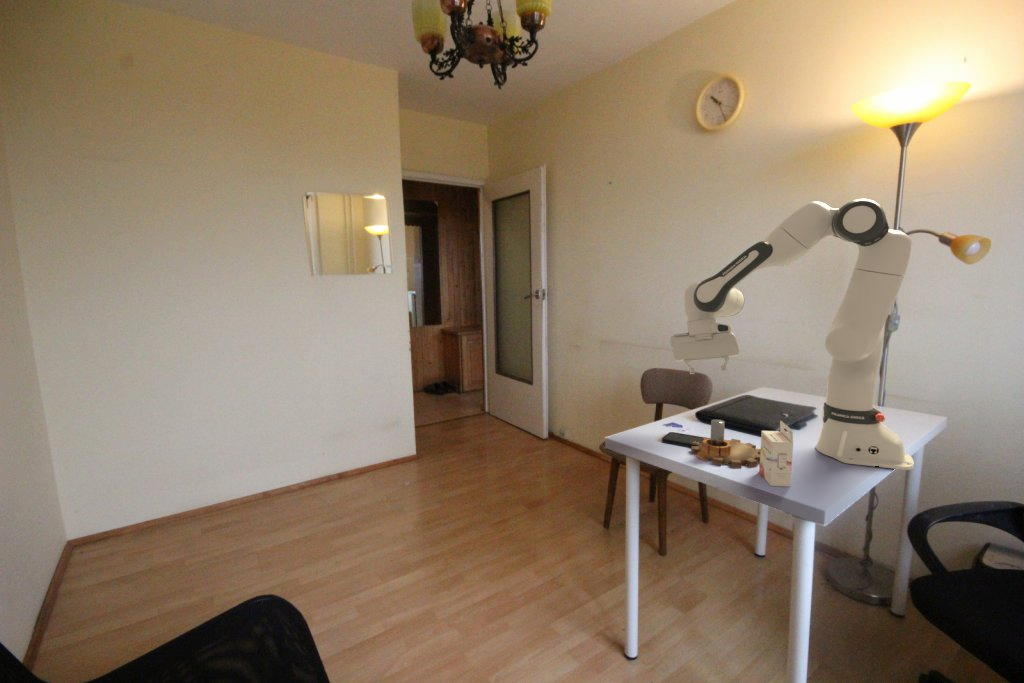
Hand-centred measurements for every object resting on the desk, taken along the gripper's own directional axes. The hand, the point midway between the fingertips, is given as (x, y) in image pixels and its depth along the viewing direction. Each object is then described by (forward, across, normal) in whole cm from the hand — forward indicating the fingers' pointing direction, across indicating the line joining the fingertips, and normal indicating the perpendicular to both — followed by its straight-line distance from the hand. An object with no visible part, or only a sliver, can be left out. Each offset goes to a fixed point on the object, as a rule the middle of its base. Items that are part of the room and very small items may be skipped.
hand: (707, 372), depth 149 cm
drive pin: (+25, -1, -9) cm, 26 cm away
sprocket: (+26, +2, -7) cm, 26 cm away
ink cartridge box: (+32, +10, -20) cm, 40 cm away
